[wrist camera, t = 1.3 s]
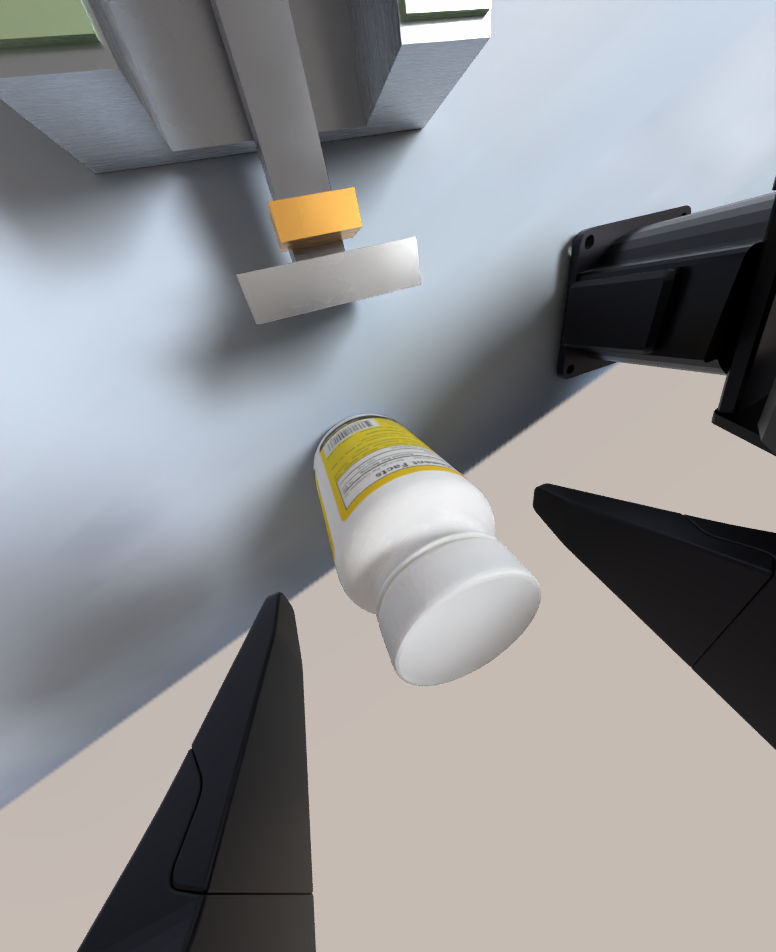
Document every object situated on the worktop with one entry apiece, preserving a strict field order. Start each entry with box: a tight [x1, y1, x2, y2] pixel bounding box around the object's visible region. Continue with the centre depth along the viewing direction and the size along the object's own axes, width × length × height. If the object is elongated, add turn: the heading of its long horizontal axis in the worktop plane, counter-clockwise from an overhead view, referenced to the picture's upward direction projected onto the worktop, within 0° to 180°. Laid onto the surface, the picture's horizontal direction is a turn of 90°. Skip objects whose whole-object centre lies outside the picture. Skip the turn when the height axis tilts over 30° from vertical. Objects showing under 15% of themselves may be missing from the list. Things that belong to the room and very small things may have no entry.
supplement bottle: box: [314, 414, 541, 686], centre depth 11 cm, size 5×5×10 cm
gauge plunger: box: [210, 0, 421, 325], centre depth 6 cm, size 4×8×3 cm, turn 12°
